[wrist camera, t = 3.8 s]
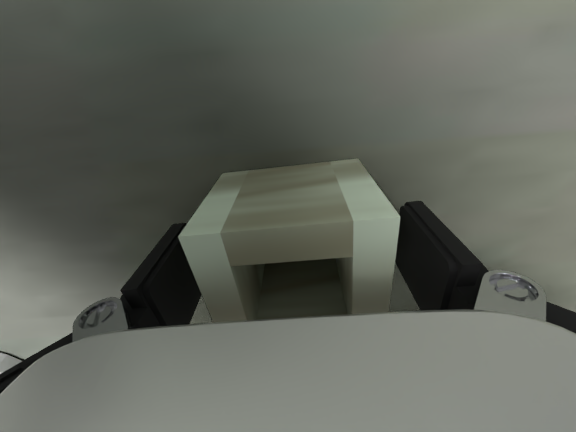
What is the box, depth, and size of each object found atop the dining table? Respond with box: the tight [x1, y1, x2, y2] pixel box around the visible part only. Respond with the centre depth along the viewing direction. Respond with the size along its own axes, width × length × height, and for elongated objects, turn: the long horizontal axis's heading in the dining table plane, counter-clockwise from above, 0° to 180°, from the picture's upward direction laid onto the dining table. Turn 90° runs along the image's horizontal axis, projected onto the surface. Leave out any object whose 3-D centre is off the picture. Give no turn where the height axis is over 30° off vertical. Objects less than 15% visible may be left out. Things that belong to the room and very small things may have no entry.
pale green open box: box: [178, 158, 400, 323], centre depth 10 cm, size 6×6×5 cm
